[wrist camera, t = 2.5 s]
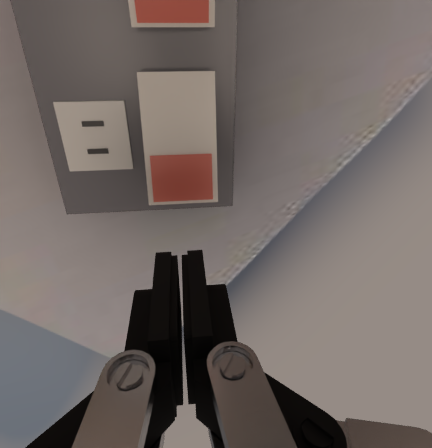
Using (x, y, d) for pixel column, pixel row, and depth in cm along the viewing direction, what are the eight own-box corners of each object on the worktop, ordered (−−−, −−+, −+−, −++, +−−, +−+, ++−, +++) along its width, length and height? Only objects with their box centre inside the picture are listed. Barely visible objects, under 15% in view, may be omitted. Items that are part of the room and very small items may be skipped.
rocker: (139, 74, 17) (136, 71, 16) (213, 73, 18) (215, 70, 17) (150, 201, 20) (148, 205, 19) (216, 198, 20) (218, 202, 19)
